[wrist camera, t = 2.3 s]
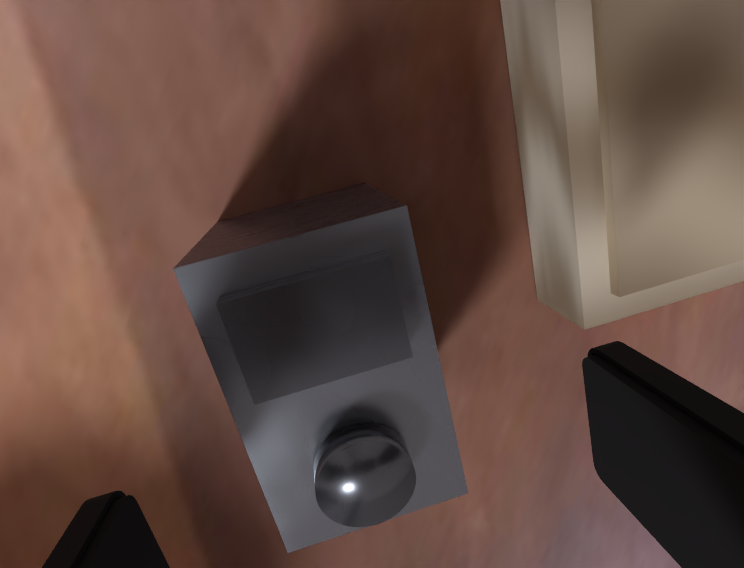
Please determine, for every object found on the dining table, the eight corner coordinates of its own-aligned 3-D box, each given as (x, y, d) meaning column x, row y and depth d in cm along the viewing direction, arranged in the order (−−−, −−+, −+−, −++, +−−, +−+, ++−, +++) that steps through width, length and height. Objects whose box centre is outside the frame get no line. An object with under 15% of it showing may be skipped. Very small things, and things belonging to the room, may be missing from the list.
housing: (218, 220, 15) (162, 279, 8) (364, 182, 15) (416, 210, 9) (289, 420, 17) (287, 580, 11) (412, 382, 18) (479, 516, 12)
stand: (492, -61, 14) (553, -123, 10) (838, -138, 15) (990, -216, 12) (537, 299, 18) (592, 334, 14) (808, 219, 19) (915, 234, 15)
